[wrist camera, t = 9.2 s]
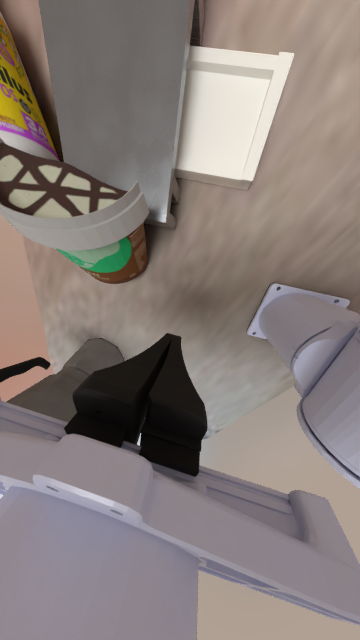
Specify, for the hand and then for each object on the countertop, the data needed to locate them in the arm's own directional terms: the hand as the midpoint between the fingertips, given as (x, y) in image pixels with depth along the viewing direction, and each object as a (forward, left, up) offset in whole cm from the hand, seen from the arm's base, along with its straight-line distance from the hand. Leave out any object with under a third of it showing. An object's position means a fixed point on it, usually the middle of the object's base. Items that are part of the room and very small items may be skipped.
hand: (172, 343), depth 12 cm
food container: (+12, -3, -8) cm, 15 cm away
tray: (+2, -18, -10) cm, 20 cm away
